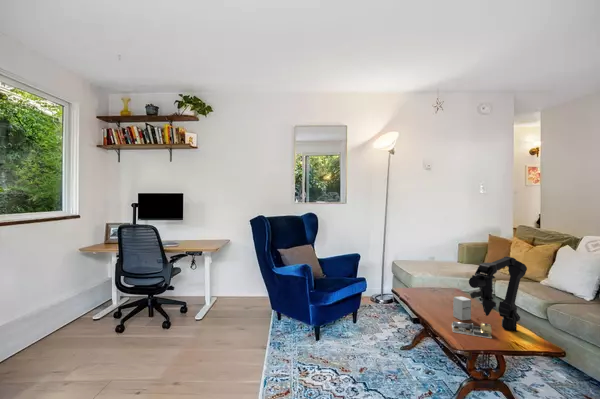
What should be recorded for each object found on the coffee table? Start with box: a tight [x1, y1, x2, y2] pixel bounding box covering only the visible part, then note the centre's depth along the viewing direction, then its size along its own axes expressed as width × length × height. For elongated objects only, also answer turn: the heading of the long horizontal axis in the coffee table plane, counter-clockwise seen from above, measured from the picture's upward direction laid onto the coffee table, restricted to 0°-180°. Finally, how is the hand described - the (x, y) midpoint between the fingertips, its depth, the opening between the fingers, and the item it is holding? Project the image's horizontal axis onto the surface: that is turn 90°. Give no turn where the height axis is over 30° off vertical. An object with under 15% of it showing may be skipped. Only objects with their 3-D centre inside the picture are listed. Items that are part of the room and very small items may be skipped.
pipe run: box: [451, 320, 493, 339], centre depth 173 cm, size 19×12×4 cm, turn 67°
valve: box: [480, 321, 492, 336], centre depth 171 cm, size 5×5×6 cm
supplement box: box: [452, 296, 472, 321], centre depth 193 cm, size 7×7×13 cm
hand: (486, 314), depth 170 cm, fingers open, 5 cm apart
